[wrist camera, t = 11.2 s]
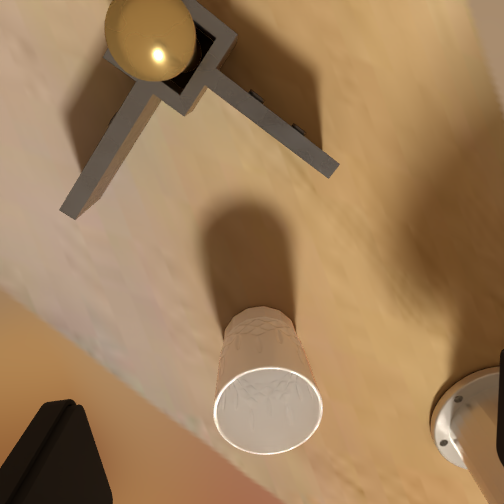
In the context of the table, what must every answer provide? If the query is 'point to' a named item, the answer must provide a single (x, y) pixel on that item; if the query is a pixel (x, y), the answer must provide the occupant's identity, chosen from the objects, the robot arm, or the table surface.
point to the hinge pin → (152, 38)
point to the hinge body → (183, 101)
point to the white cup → (265, 385)
